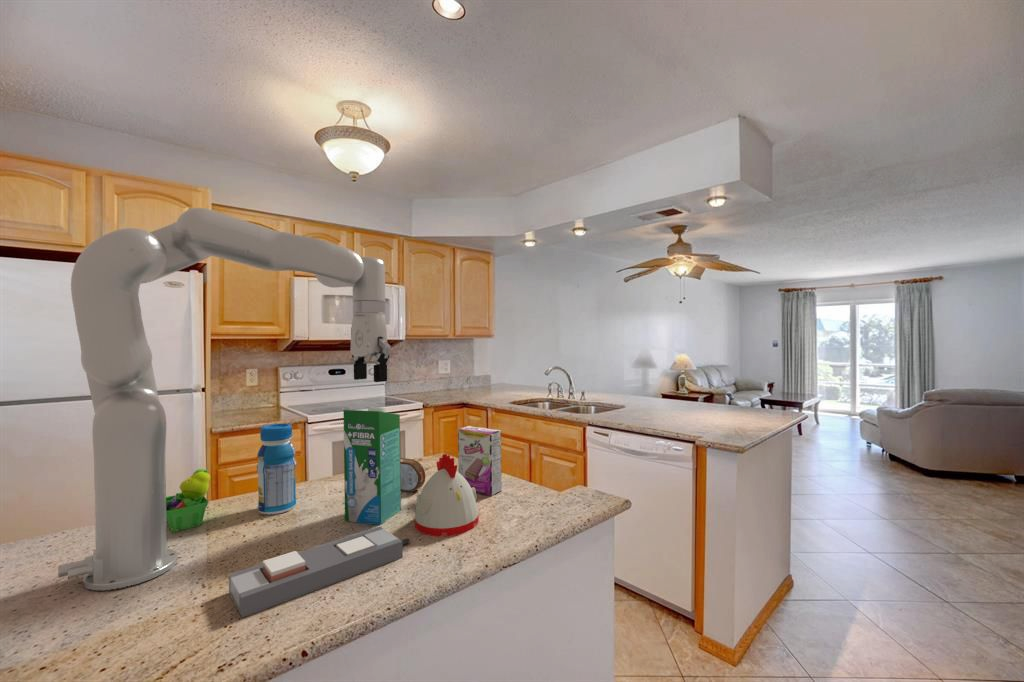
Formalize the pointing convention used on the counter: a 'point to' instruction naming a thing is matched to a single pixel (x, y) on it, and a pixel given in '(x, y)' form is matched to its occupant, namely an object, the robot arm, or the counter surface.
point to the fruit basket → (188, 502)
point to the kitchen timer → (446, 502)
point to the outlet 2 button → (354, 546)
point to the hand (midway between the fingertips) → (370, 380)
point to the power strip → (312, 571)
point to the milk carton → (371, 465)
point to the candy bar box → (480, 458)
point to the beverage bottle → (276, 470)
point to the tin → (411, 475)
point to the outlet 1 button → (283, 566)
